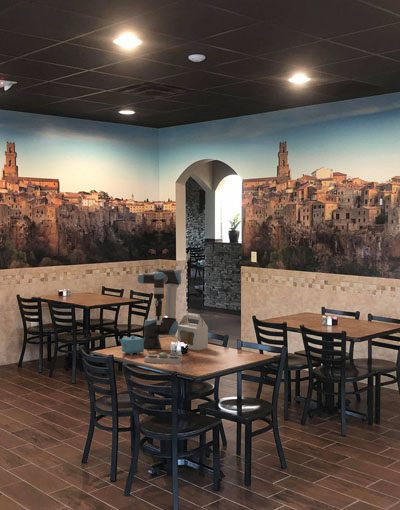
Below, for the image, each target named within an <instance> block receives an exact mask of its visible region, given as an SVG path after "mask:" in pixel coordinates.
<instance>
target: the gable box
mask: <svg viewBox="0 0 400 510" xmlns="http://www.w3.org/2000/svg"><path fill="white" fill-rule="evenodd" d="M189 319H191V320H198V323H191V322H189ZM193 335H194V336H193ZM208 337H209V326H208V324H206V322H205V320H204V319H203V317H202V316H201V314H200V313H193V312H189V311H187V312H185V313H184V315H183V316H182V319H181V320H180V322H178V329H177V342H178V341H180V342H184V343H185V344H187V345H188V349H187V350H192V351H201V350H206V349H207V350H208V348H209V347H208V345H209V344H208V343H209V341H208V339H209V338H208Z"/></svg>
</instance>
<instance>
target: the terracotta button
mask: <svg viewBox="0 0 400 510" xmlns="http://www.w3.org/2000/svg"><path fill="white" fill-rule="evenodd" d="M157 353H158V351H156V350H149V351H148V352H147V355H158V354H157Z"/></svg>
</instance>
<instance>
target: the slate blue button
mask: <svg viewBox="0 0 400 510" xmlns="http://www.w3.org/2000/svg"><path fill="white" fill-rule="evenodd" d="M169 356H179V352H177V351H171V352H169Z"/></svg>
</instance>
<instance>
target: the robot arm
mask: <svg viewBox="0 0 400 510" xmlns="http://www.w3.org/2000/svg"><path fill="white" fill-rule="evenodd" d="M137 282H138V284H142V285H145V284H148V285H149V284H151V285H152V284H153V299H155V300H156V301H155V303H154V305H155V316H156V317H154V318H148V319H145V320H144V325H143V326H144V328H143V329H144V333H143V335H144V337H143V339H144V349H145V350H156V349H157V350H158V349H161V347H162V344H161V341H160V336H176V334H178V325H179V320H177V318H176V302H177V291H178V288H179V286H180V285H181V284H182V274H181V271H180V270H179V269H165V268H163V269H162V268H161V269H156V270H152V271H150V272H149V273H148V272H147V273H139V274H138V275H137ZM165 287H166V288H165ZM165 289H166V290H165ZM162 299H165V300H164V301H165V302H164V312H163V313H164V314H163V316H162V309H163V308H162V307H163V300H162Z"/></svg>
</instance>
